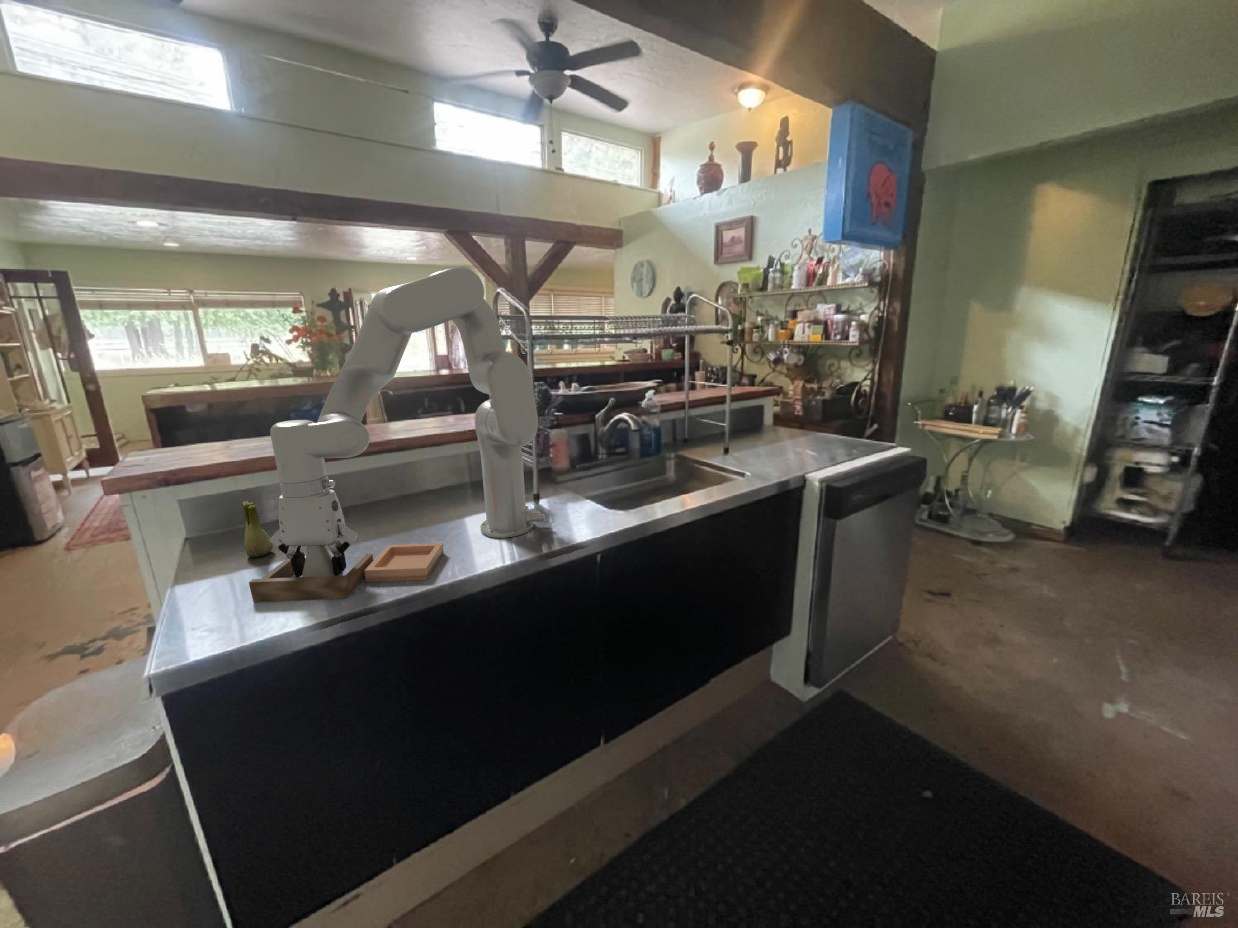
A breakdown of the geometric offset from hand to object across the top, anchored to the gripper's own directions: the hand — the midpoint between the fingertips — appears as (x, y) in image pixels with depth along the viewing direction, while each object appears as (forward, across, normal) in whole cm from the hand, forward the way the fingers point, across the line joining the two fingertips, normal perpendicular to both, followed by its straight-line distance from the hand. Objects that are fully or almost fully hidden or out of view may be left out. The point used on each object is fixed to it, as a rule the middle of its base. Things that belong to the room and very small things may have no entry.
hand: (320, 572), depth 97 cm
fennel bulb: (+2, +19, -13) cm, 23 cm away
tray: (+1, -15, -4) cm, 16 cm away
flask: (+1, 0, 0) cm, 1 cm away
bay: (+1, 0, +2) cm, 3 cm away
